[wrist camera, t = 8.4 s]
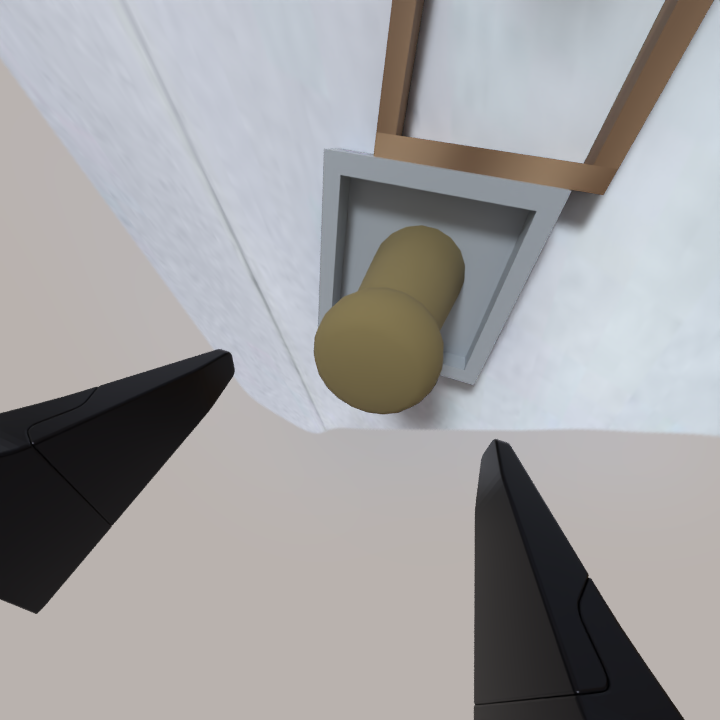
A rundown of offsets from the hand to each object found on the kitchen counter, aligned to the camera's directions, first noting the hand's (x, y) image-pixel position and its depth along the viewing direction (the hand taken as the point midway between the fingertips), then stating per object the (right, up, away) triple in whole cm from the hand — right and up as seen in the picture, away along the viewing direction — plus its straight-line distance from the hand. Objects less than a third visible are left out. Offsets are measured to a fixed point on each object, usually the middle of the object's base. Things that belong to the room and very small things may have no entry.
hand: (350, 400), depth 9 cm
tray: (+4, +7, +10) cm, 13 cm away
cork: (+4, +7, +9) cm, 13 cm away
